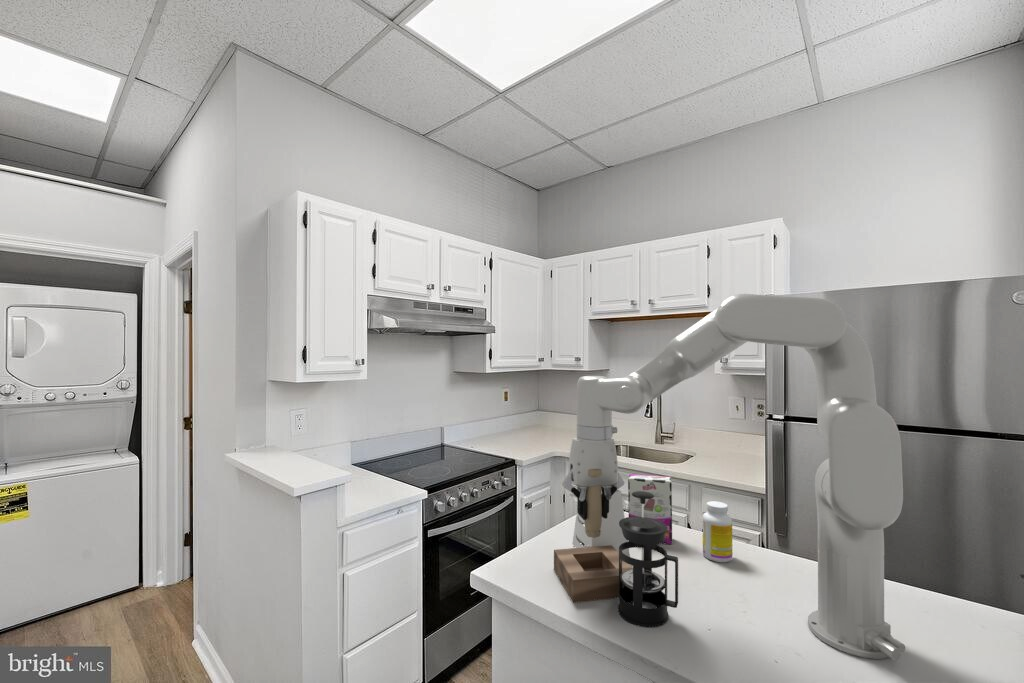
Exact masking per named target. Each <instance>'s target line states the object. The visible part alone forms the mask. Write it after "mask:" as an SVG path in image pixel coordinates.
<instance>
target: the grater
mask: <svg viewBox="0 0 1024 683" xmlns="http://www.w3.org/2000/svg"><path fill="white" fill-rule="evenodd" d="M601 494H602V493H601ZM623 518H626V517H625V511H624V503H623V497H622V491H621V490H619V489H617V491H616V492H615V493H614V494H613V495H612V496H611V499H610V500H609V513H607V519H605V518H603V517H602V523H601V528H600V530H601V533H600V536H599V537H596V538H592V537H588V536H587V535H586V533H585V522H584V520H583V519H582V518H581V517H580V515H579V514H578V512H577V511H576V516H575V523H574V530H573V536H572V544H573V545H574V546H575V547H576V548H582V547H595V546H607V545H612V546H613V547H614V549H615V550H616V551H617V552H618V553H619V546H620V545H621V544H622V543H624V542H628V540H626V539H625V538H624V535H623V533H622V528H620V526H619V521H620V520H621V519H623ZM580 543H584V544H580ZM572 544H571V545H572ZM583 545H585V546H583ZM622 553H623V554H625V555H627V556H629V557H631V556H630V548H628V549H625V550H623V551H622Z"/></svg>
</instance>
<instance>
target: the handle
mask: <svg viewBox="0 0 1024 683" xmlns="http://www.w3.org/2000/svg"><path fill="white" fill-rule="evenodd" d="M601 475H602V469H600V470H588V476H590V477H599V476H601ZM585 500H586V501H587V519H586V520H584V522H585V524H584V527H585V533H586V535H587V536H588V537H592V538H596V537H599V536H600V533H601V530H600V528H601V523H602V496H601V486H594V487H587V490H586V495H585Z"/></svg>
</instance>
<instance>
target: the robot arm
mask: <svg viewBox="0 0 1024 683" xmlns="http://www.w3.org/2000/svg"><path fill="white" fill-rule="evenodd" d="M844 312H845V311H844V310H843V309H842V308H841V307H840V306H839V305H838V304H836V303H834V302H833V301H831V300H828V299H826V298H819V297H808V296H807V297H805V296H804V297H803V296H786V295H769V294H768V295H765V294H754V293H739V294H738V293H737V294H734V295H731V296H729V297H728V298H726V299H725V300H723V301H722V302H721V304H720V305H719V306H718V307H717V308H716V309H714V310H712V311H711V312H710V313H708V314H707V315H706V316H704V317H703V318H701V319H700V320H698V321H696V323H694V324H692V325H691V326H690V327H688V328H687V329H685V330H684V331H683V332H681V333H679V334H678V335H677V336H675V337H674V338H672V339H671V340H670V341H669V342H668V343H667V345H666V346H665V347H664V348H663V349H662V350H661V351H660V352H659V353H658V354H657V355H656V356H655V357H652V358H651V359H650V360H649V361H647V362H646V363H645V364H643V365H642V366H641V367H639V368H638V369H636V370H635V371H633V372H632V373H630V374H628V375H627V376H624V377H619V378H609V377H607V376H602V375H585V376H583V375H582V376H580V377H579V379H578V380H577V383H576V436H575V437H572V440H571V444H570V445H571V446H570V450H569V460H568V474H567V475H566V477H565V478H564V480H563V482H562V483H561V485H562V487H563V488H564V489H565V490H567V491H569V492H570V493H572V494H573V495H574V496H575V497H576V498H577V499H576V500H577V505H576V506H577V509H576V513H577V512H578V514H579V515H580V517H581V518H582V519H583V520H586V519H587V501H586V500H585V495H586V490H587V487H594V486H601V493H602V494H601V496H602V517H603V518H605V519H607V513H609V500H610V499H611V496H612V495H613V494H614V493H615V492H616V491H617V490H619V489H620V488H621V487H623V486H624V485H625V481H624V479H623V477H622V476H621V475H620V473H619V465H618V455H617V449H616V448H617V446H616V443H615V442H616V441H615V439H613V434H617V433H618V427H617V426H614V425H613V424H612V422H613V421H612V416H613V413H612V412H616V413H621V414H626V415H627V414H629V415H631V414H635V413H637V412H639V411H640V410H642V409H643V408H644V407H645V406H647V405H648V404H649V403H651V402H652V401H653V400H655V399H657V398H658V397H660V396H661V395H663V394H664V393H665V392H667V391H669V390H670V389H672V388H673V387H675V386H677V385H678V384H680V383H681V382H684V381H685V380H688V379H691V378H693V377H695V376H697V375H699V374H700V373H702V372H703V371H706V370H707V369H708V368H710V367H712V365H714V364H716V363H717V362H718V361H720V360H722V359H723V358H724V357H725V358H726V356H728V355H729V354H731V353H732V352H734V351H736V350H737V349H738V348H740V347H742V346H743V345H745V344H746V343H747V342H748V343H758V344H766V345H777V346H787V347H798V348H801V349H804V350H805V351H806V352H807V353H808V354H809V355H810V357H811V359H812V361H813V364H814V369H815V378H816V392H817V393H816V394H817V396H816V397H817V401H816V402H817V415H816V416H817V417H816V420H817V421H816V422H817V423H816V424H817V430H818V432H819V433H820V435H821V437H822V438H823V439H824V440H825V441H826V443H827V449H828V458H826V459H824V461H822V462H821V464H820V465H818V468H817V470H816V473H815V478H814V490H815V491H814V492H815V493H814V494H815V500H816V502H815V503H816V514H817V516H816V517H817V610H814V611H812V612H811V613H809V615H807V625H808V628H809V630H810V631H811V632H812V634H813V635H814V636H815V637H817V638H818V639H819V640H821V641H823V642H824V643H825V644H826V645H828V646H831V647H832V648H835V649H837V650H838V651H841V652H844V653H847V654H850V655H853V656H857V657H861V658H867V659H875V660H877V659H880V660H881V659H888V658H890V659H891V660H892V661H895V662H898V661H899V660H900V659H901V657H902V653H904V652H905V650H906V645H905V644H904V643H902V642H901V641H899V640H898V639H895V638H894V637H893V636H892V634H891V633H892V632H891V631H892V630H891V628H892V627H891V624H890V623H888V622H886V621H885V534H884V529H886V528H888V527H890V526H891V525H893V524H894V523H895V521H897V520H898V518H899V516H900V515H901V512H902V508H903V503H904V487H903V486H904V484H903V477H904V476H903V459H902V458H903V457H902V442H901V441H902V440H901V434H900V431H899V428H898V425H897V423H896V422H895V419H894V418H893V416H891V414H890V413H888V411H886V410H885V409H884V408H883V407H881V406H880V405H878V403H877V390H876V380H875V369H874V362H873V358H872V354H871V352H870V349H869V346H868V345H867V343H866V341H865V340H864V338H863V337H862V335H861V334H860V333H859V332H858V330H857V329H855V328H854V327H853V326H852V325H851V324H850V323H849V322H847V317H846V314H845V313H844ZM600 469H602V475H601V476H599V477H590V476H588V470H600ZM572 483H573V484H574V485H575V486H576V487H575V486H574V485H572Z"/></svg>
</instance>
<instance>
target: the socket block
mask: <svg viewBox="0 0 1024 683" xmlns="http://www.w3.org/2000/svg"><path fill="white" fill-rule="evenodd" d="M631 569H633V566H632V565H630V564H628V563H626V562H624V561H623V560H622V573H623V572H624V571H627V570H631ZM553 571H554V572H555V574H556V576H557V577H558V579H559V581H560V583H561V584H562V586H563V588H564V590H565V591H566V593H567V595H568V597H569V598H570V600H571V601H572V603H575V604H576V603H582V602H594V601H604V600H612V599H619V553H618V552H617V551H616V550H615V549H614V547H613V546H612V545H607V546H595V547H589V546H584V547H582V548H574V547H573V548H560V549H554V550H553ZM623 586H624V585H623V583H622V587H623Z"/></svg>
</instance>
